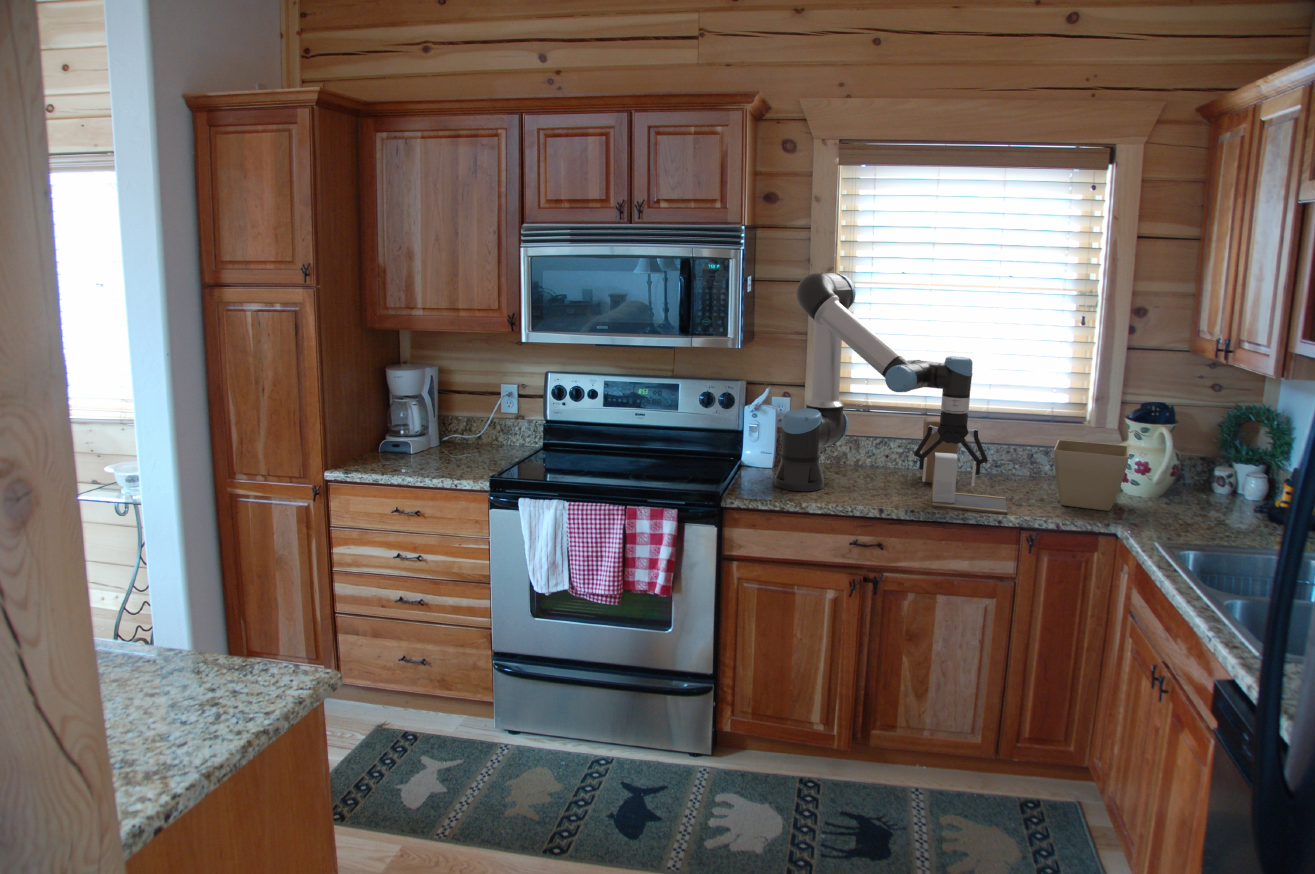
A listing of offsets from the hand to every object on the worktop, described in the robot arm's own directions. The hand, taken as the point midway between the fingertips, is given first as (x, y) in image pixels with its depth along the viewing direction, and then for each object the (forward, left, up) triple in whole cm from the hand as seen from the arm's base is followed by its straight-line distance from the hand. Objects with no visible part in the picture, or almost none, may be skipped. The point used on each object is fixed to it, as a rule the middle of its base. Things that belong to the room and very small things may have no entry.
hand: (948, 483), depth 258 cm
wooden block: (-4, +26, -6) cm, 27 cm away
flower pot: (+38, +13, -6) cm, 41 cm away
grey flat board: (+6, 0, -5) cm, 8 cm away
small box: (-1, 0, -5) cm, 5 cm away
